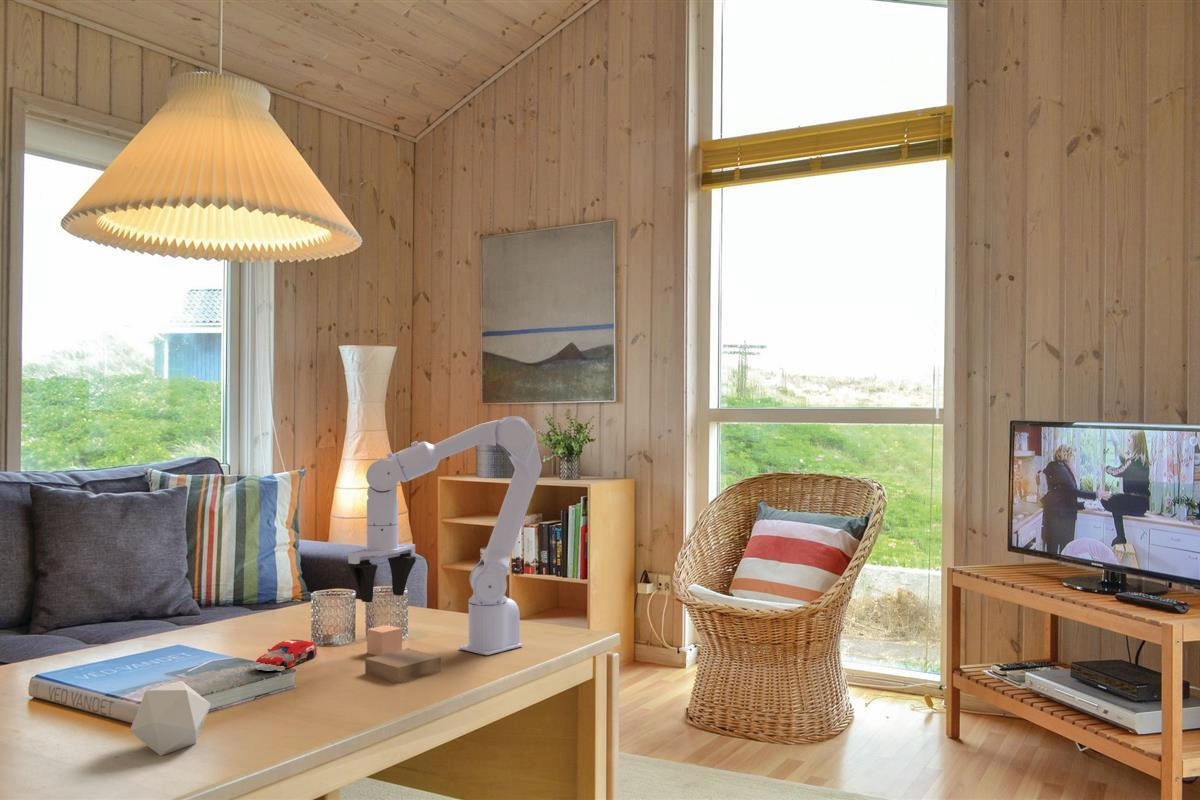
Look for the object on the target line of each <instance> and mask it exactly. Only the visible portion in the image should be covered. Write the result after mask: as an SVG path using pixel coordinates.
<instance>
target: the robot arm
mask: <svg viewBox="0 0 1200 800" xmlns="http://www.w3.org/2000/svg"><path fill="white" fill-rule="evenodd" d="M480 445H482V446H483V445H484V446H485V445H486V446H497V445H498V446H499V447H500V448H501V449H502V450H503V451H504V452H505V453H506V455H507V456H508V458H509V460H510V462H511V463H512V466H513V468H514V471H513V474H512V477H511V479H510V483H509V485H508V488H507V491H506V494H505V496H504V499H503V502H502V505H501V507H500V509H499V513H498V516H497V519H496V522H495V524H494V527H493V529H492V532H491V535H490V538H489V541H488V542H487V543H488V544H487V546H486V547H485V550H484V551H483V553H482V555H481V558H480V560H479V562H478V563H477V565H475V566H474V567H473V568H472V570H471V572H470V574H469V584H470V587H471V589H472V592H473V593H472V595H471V596H470V597H469V598H468V643H467V644H463V645H460V646H458V649H459V650H462V651H466V652H471V653H475V654H478V655H484V656H489V655H494V654H498V653H502V652H505V651H509V650H512V649H517V648H520V647H523V645H524V644H523V643H522V642H520V641H521V640H520V639H521V638H520V637H521V635H520V633H521V632H520V631H521V629H520V627H521V625H520V624H521V622H520V616H521V615H520V609H519V605H518V604H517V602H516V601H515V600H513V599H512V598H509V597H507V596H506V592H507V588H508V583H507V576H508V575H507V574H508V572H509V568H510V563H511V556H512V554H513V553H512V552H513V550H514V548H515V545H516V542H517V539H518V537H519V534H520V531H521V528H522V525H523V523H524V519H525V516H526V514H527V511H528V509H529V506H530V503H531V501H532V498H533V494H534V492H535V489H536V486H537V483H538V481H539V478H540V475H541V472H542V468H543V465H542V461H541V460H542V458H541V456H540V452H539V446H538V442H537V435H536V433H535V431H534V430H533V428H532V427H531V426H530V424H529V422H528V421H527V420H526V419H524V418H523V417H521V416H514V415H513V416H505V417H501V418H500V419H497V420H496V419H495V420H491V421H487V422H484V423H480V424H476V425H475V426H473V427H470V428H468V429H465V430H463V431H461V432H459V433H457V434H454V435H453V436H450V437H447V438H446V439H444V440H442V441H439V442H437V443H435V444H432V443H429V442H427V441H421V442H418V441H417V440H415V441H413V442H411V443H410V447H406V448H404V449H401V450H399V451H398V452H395V453H393V452H392V451H390V452H389V453H386V458H387V459H385V458H382V459H381V458H380V459H377V460H375V461H373V462H372V463H371V464H370V465H369V467H368V468H367V471H366V476H365V477H366V481H367V484H368V485H369V486H368V487H367V488H368V489H367V493H366V494H367V500H366V546H365V547H364V548H363V549H357V550H355V551H350V552H348V554H347V555H348V557H347V558H348V569H349V571H350V572H351V574H352V575H353V577H354V580H355V583H356V585H357V588H358V591H359V592H358V593H359V595H360V599H361V602H363V603H372V602H373V599H374V585H375V584H374V582H375V578H376V577H375V576H376V571H378V570H377V569H378V565H377V564H372V562H374V561H377V560H378V561H379V560H384V559H385V560H386V559H387V560H388V561H387V562H388V563H389V568H390V573H391V589H392V594H393V595H394V596H400V597H402V596H404V594H405V589H406V585H407V582H408V579H409V576H410V573H411V571H412V569H413V567H414V565H415V563H416V562H417V558H416V556H414V555H416V543H415V544H414V543H403V544H402V543H401V544H399V526H400V525H399V524H400V523H399V499H398V490H397V489H398V486H397V485H398V483H399V482H402V483H406V482H409V481H411V480H413V479H416V478H419V477H421V476H424V475H426V474H427V473H430V472H433V471H435V470H436V469H437V467H438V465H439V463H440V461H441V460H442V459H446V458H447V457H450V456H454V455H456V454H459V453H461V452H463V451H465V450H469V449H471V448H473V447H476V446H480Z"/></svg>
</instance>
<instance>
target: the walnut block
mask: <svg viewBox="0 0 1200 800" xmlns="http://www.w3.org/2000/svg"><path fill="white" fill-rule="evenodd" d="M441 661H442V656H439V655H435V654H430V653H427V652H424V651H423V652H422V651H419V650H415V649H412V648H411V649H410V648H405V649H402V650H400V651H395V652H391V653H387V654H383V655H378V656H376V655H373V656H371V657H366V658H364V663H365V669H364V674H365V675H367V676H368V675H369V676H372V677H374V678H375V677H376V678H377V679H382V680H386V681H389V682H392V681H393V682H392V683H395V682H396V684H401V683H404V682H405V683H406V682H409V681H411V680H415V679H420V678H422V677H423V678H425V677H427V676H431V675H434V674H438V673H441V672H442V671H441V670H442V669H441V667H442V662H441Z"/></svg>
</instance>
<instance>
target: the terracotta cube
mask: <svg viewBox="0 0 1200 800" xmlns="http://www.w3.org/2000/svg"><path fill="white" fill-rule="evenodd" d="M366 633H367V635H366V638H367V639H366V647H367V648H366V654H370V655H373V656H378V655H383V654H387V653H391V652H395V651H400V650H403V628H401V627H398V626H394V625H393V626H392V625H389V624H386V625H385V624H384V625H380V626H378V627H377V626H376V627H371V628H366Z"/></svg>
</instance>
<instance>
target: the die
mask: <svg viewBox="0 0 1200 800" xmlns="http://www.w3.org/2000/svg"><path fill="white" fill-rule="evenodd" d="M211 706H212V703H210V702H209V701H208V700H207V699H205V698H204V697H202V695H200V694H199V693H198V692H196V691H195V690H194V689H193V688H191V687H190V686H189V685H188V684H186V683H185V682H184V681H182V680H179V681H175V682H172V683H168V684H164V685H160V686H157V687H152V688H150V689H146V690H145V692H144V694H143V697H142V699H141V701H140V704H139V707H138V710H137V712H136V714H135V717H134V719H133V721H132V724H131V726H130V729H129V732H130V733H131V734H133V735H134V736H135V737H137V738H138V739H139V740H141V742H143V743H144V744H145V745H146V746H148V747H149V748H150V749H152V750H153V752H155V753H156V754H158V755H159V756H165V755H167V754H170V753H173V752H175V751H179V750H181V749H185V748H187V747H190V746H192V745H195V744H197V742H198V739H199V737H200V735H201V731H202V729H203V726H204V723H205V721H206V718H207V715H208V714H209V711H210V707H211Z"/></svg>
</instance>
